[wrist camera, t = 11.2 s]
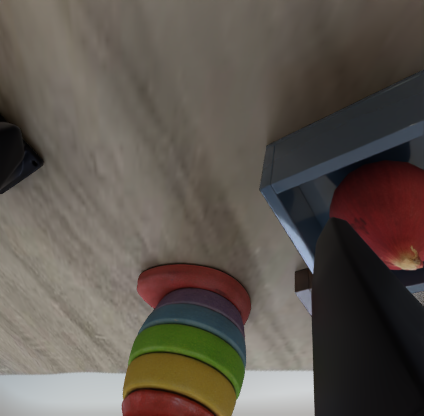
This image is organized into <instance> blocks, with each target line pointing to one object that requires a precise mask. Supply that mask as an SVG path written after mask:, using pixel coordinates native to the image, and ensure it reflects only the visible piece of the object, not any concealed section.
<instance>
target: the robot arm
mask: <svg viewBox="0 0 424 416" xmlns="http://www.w3.org/2000/svg"><path fill="white" fill-rule="evenodd" d="M35 161H36V162H37V163H36V162H35ZM42 166H43V160H42V159H41V158H40V157H39V155H38V154H37V153H36V152H35V151H34V150H33V149H32V148H31V147H30V146H29V145H28V144H27V143H26V141H25V140H24V139H23V138H22V134H21V130H20V128H19V127H18V126H16V125H13V124H10V123H8V122H7V121H6V120H5V119H4V118H3V117H2V116H1V115H0V194H3V193H4V192H6V191H7V190H9V189H10V188H12V187H13V186H14V185H16V184H17V183H19V182H20V181H22V180H23V179H24V178H26V177H27V176H29V175H30V174H32V173H33V172H35V171H36V170H37V169H39V168H40V167H42ZM311 305H312V339H313V372H314V404H315V416H424V307H423V306H422V305H421V304H420V302H419V301H418V300H417V299H416V298H415V297H414V296H413V295H412V294H411V292H410V291H409V290H408V289H407V288H406V287H405V286H404V285H403V283H402V282H401V281H400V280H399V279H398V278H397V277H396V276H395V275H394V273H393V272H392V271H391V270H390V269H389V268H388V267H387V266H386V264H385V263H384V262H383V261H382V260H381V259H380V258H379V257H378V256H377V254H376V253H375V252H374V251H373V250H372V249H371V248H370V247H369V245H368V244H367V243H366V242H365V241H364V240H363V239H362V238H361V237H360V235H359V234H358V233H357V232H356V231H355V230H354V229H353V228H352V226H351V225H350V224H349V223H348V222H347V221H346V220H343V219H339V218H336V217H331V218H330V219H329V220H328V221H327V223H326V225H325V227H324V228H323V230H322V232H321V234H320V236H319V238H318V240H317V243H316V249H315V259H314V269H313V279H312V291H311Z"/></svg>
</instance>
